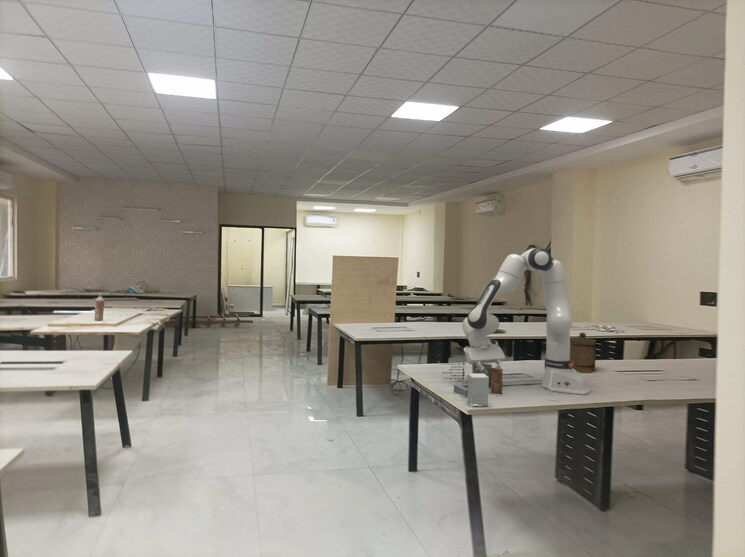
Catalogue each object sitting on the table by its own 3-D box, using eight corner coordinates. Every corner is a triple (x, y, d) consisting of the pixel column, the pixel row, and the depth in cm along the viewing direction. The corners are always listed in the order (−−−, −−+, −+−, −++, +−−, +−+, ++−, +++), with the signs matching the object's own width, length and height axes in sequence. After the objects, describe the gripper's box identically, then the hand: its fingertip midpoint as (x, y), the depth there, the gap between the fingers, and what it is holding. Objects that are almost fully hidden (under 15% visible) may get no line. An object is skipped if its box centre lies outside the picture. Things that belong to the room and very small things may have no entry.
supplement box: (483, 401, 211) (484, 373, 211) (488, 406, 204) (489, 377, 203) (467, 401, 211) (467, 372, 210) (471, 406, 203) (472, 377, 203)
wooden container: (598, 370, 280) (600, 333, 279) (589, 374, 269) (591, 335, 268) (572, 366, 290) (574, 330, 289) (563, 369, 279) (564, 332, 279)
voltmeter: (488, 380, 250) (489, 361, 250) (496, 386, 239) (497, 366, 238) (438, 380, 247) (439, 361, 247) (444, 386, 236) (445, 366, 235)
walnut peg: (497, 392, 226) (497, 367, 226) (501, 394, 223) (502, 369, 223) (490, 393, 225) (491, 367, 225) (495, 395, 222) (496, 369, 221)
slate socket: (471, 390, 229) (471, 383, 229) (484, 396, 220) (484, 388, 219) (453, 392, 225) (454, 384, 225) (465, 398, 216) (466, 390, 215)
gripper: (465, 342, 230) (476, 367, 221) (499, 341, 238) (511, 364, 229) (459, 350, 234) (470, 374, 225) (493, 348, 242) (505, 372, 233)
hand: (491, 369), depth 227 cm, fingers open, 8 cm apart
